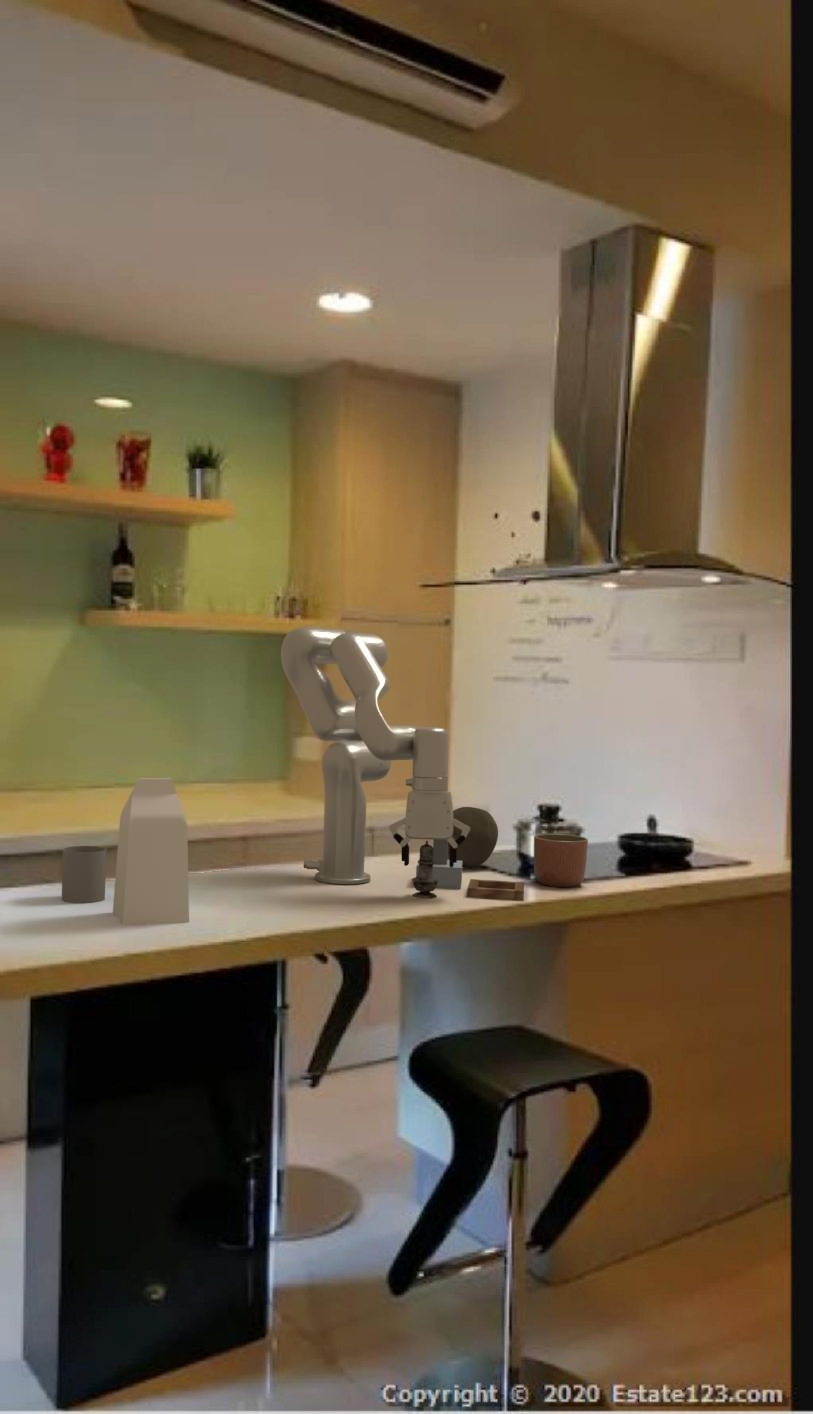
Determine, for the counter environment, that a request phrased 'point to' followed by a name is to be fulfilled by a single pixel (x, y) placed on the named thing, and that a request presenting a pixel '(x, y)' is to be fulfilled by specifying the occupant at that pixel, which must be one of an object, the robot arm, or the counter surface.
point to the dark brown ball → (475, 836)
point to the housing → (445, 867)
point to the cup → (83, 874)
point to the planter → (560, 859)
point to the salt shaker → (425, 874)
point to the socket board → (495, 889)
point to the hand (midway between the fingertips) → (429, 865)
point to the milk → (152, 857)
